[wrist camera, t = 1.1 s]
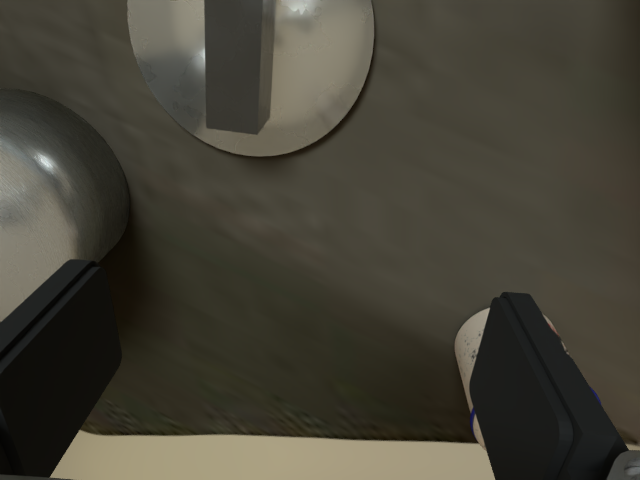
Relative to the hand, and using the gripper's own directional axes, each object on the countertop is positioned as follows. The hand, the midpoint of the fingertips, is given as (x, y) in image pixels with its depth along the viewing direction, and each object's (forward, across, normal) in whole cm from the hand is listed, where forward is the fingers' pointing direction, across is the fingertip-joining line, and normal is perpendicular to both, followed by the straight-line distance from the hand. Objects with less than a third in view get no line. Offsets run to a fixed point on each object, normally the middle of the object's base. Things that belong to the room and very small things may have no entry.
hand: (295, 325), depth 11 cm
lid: (+24, +6, -5) cm, 25 cm away
